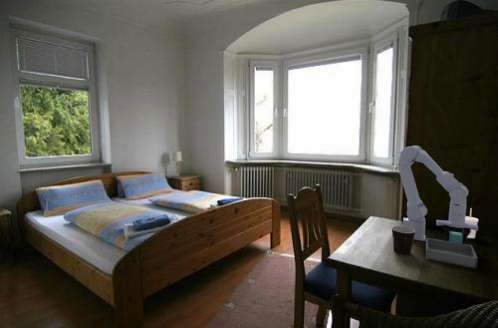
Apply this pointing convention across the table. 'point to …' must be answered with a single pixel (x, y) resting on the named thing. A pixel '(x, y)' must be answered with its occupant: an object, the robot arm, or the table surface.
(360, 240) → the table surface
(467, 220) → the beverage cup
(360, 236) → the table surface
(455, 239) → the teal block
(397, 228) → the coffee mug
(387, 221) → the table surface
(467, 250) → the gray tray
